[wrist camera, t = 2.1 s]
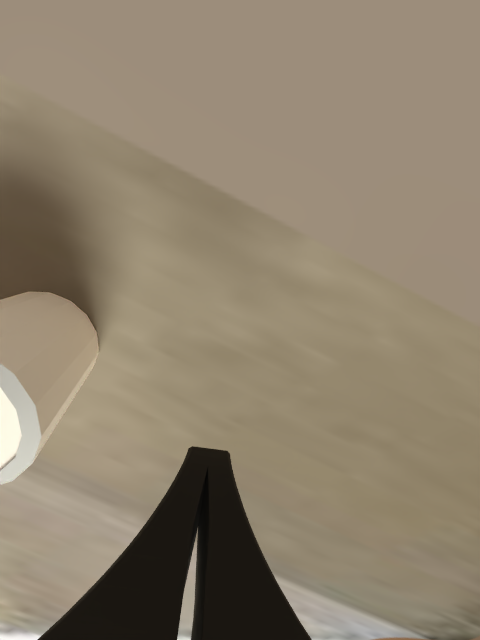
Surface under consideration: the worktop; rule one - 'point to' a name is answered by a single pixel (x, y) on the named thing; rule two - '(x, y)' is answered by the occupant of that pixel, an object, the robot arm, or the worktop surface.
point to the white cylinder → (39, 372)
